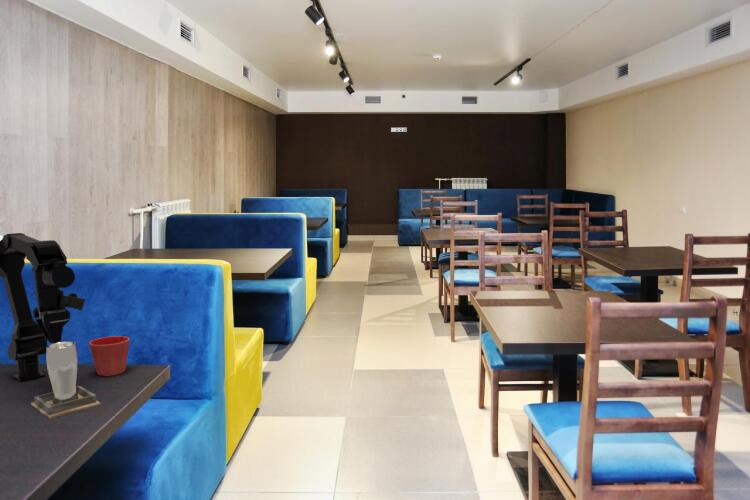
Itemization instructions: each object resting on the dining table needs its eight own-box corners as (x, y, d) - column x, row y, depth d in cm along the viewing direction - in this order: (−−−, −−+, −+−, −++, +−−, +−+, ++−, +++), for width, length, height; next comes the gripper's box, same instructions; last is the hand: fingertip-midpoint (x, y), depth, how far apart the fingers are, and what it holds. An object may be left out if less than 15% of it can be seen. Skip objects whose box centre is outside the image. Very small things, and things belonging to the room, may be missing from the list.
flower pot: (102, 366, 183) (100, 335, 182) (137, 366, 183) (135, 335, 182) (84, 377, 173) (81, 345, 172) (121, 377, 172) (119, 345, 171)
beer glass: (61, 409, 148) (56, 349, 146) (43, 404, 151) (39, 346, 149) (86, 399, 154) (82, 342, 152) (69, 395, 157) (65, 339, 155)
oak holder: (30, 404, 153) (29, 395, 152) (79, 392, 161) (79, 383, 161) (49, 418, 143) (48, 409, 143) (100, 404, 151) (100, 396, 151)
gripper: (88, 284, 158) (94, 342, 159) (73, 282, 173) (80, 335, 174) (40, 290, 152) (47, 351, 152) (29, 287, 166) (36, 343, 167)
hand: (54, 344), depth 162 cm, fingers open, 9 cm apart
